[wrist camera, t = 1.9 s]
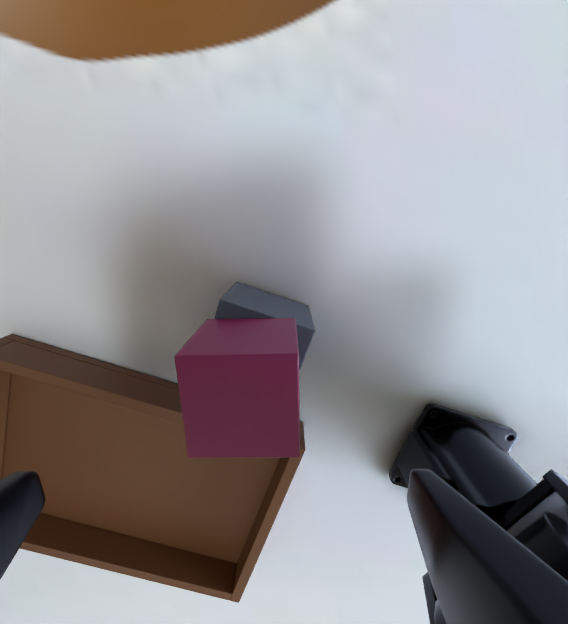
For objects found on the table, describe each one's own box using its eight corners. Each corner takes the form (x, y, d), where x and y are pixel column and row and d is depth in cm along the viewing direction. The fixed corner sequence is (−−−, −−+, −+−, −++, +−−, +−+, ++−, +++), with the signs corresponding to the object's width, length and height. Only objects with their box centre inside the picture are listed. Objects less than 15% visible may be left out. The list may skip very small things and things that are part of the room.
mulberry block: (295, 317, 13) (299, 354, 9) (296, 396, 14) (299, 458, 10) (206, 318, 13) (173, 355, 9) (214, 396, 14) (187, 459, 10)
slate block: (308, 305, 18) (315, 330, 13) (284, 369, 19) (283, 412, 14) (236, 281, 17) (219, 299, 13) (216, 348, 18) (195, 385, 14)
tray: (303, 421, 20) (305, 449, 17) (244, 563, 24) (238, 603, 21) (11, 333, 18) (-33, 350, 16) (-3, 499, 22) (-41, 534, 20)
